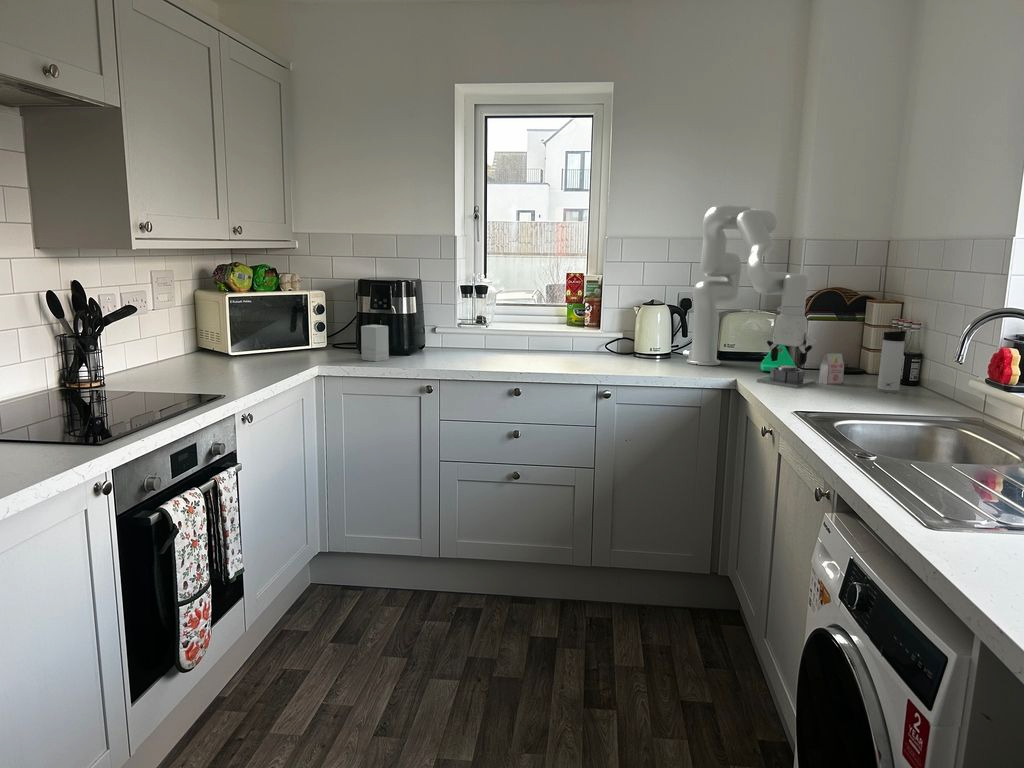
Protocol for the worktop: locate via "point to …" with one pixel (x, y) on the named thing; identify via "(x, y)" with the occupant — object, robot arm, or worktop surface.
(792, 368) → the dark grey rounded block
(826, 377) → the milk carton
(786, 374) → the grey square base
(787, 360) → the green triangle piece
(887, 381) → the travel mug
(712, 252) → the robot arm
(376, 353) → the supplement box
